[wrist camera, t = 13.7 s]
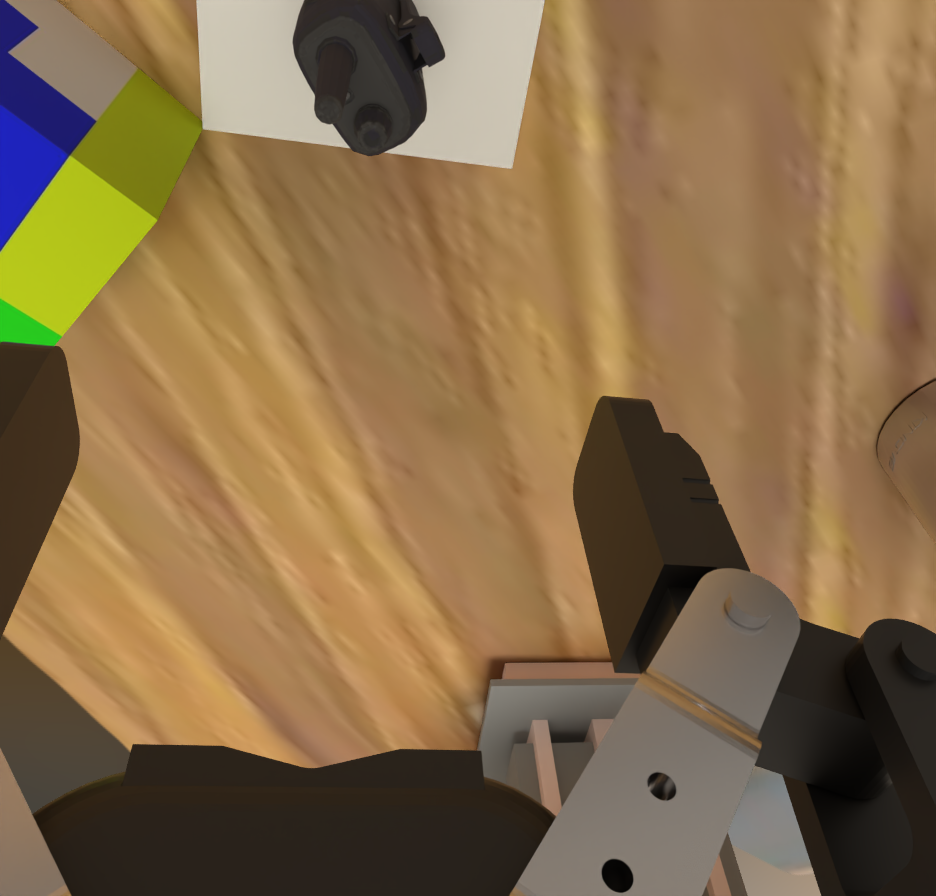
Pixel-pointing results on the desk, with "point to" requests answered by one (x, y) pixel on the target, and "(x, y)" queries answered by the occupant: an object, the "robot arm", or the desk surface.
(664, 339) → the desk surface
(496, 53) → the mat
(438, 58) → the two-way radio
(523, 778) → the desk lamp
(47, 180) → the puzzle toy
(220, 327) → the desk surface
